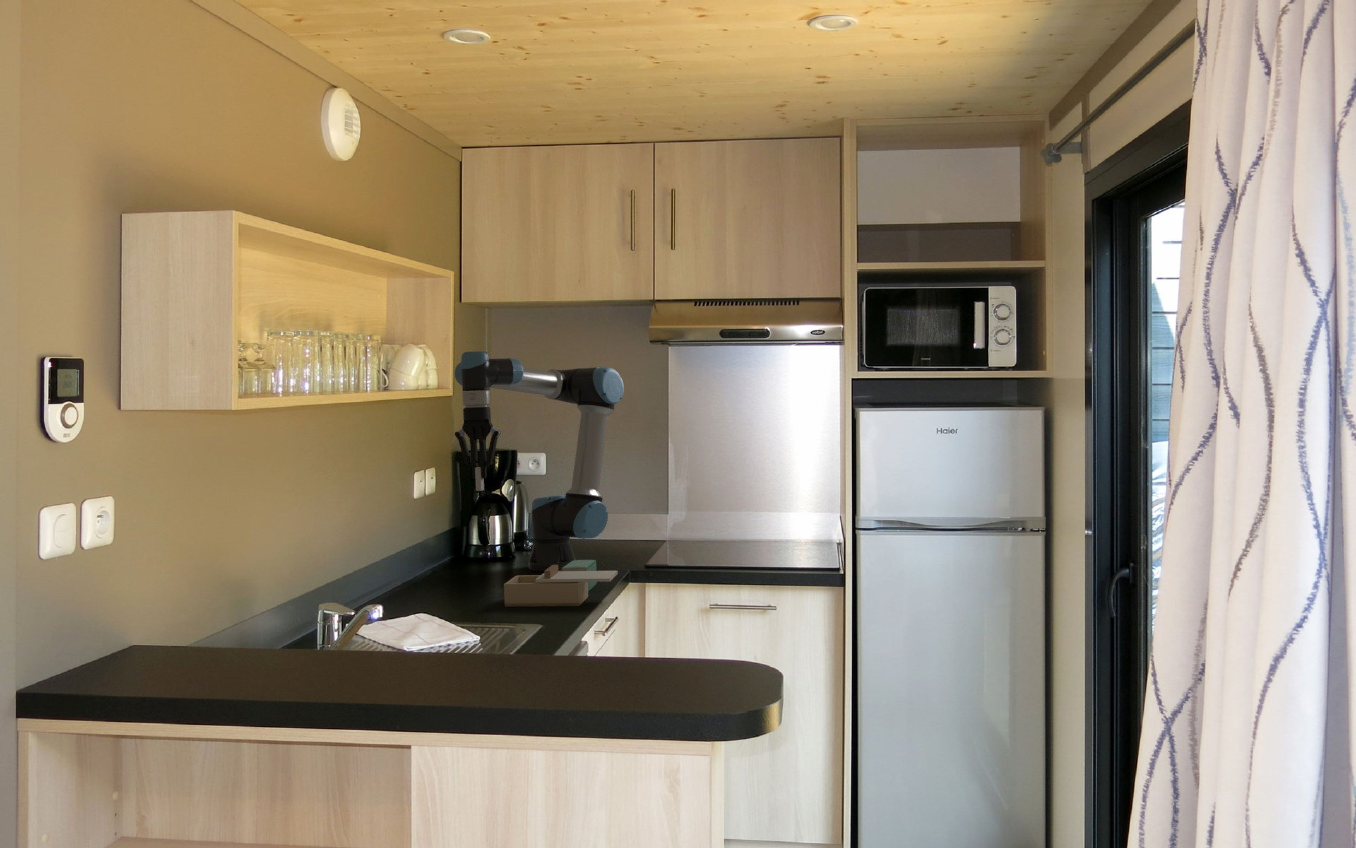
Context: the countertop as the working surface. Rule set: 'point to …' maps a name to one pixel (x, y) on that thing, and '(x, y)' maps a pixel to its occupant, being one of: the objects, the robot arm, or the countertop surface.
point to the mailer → (543, 592)
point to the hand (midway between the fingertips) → (480, 490)
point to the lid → (575, 575)
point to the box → (582, 568)
